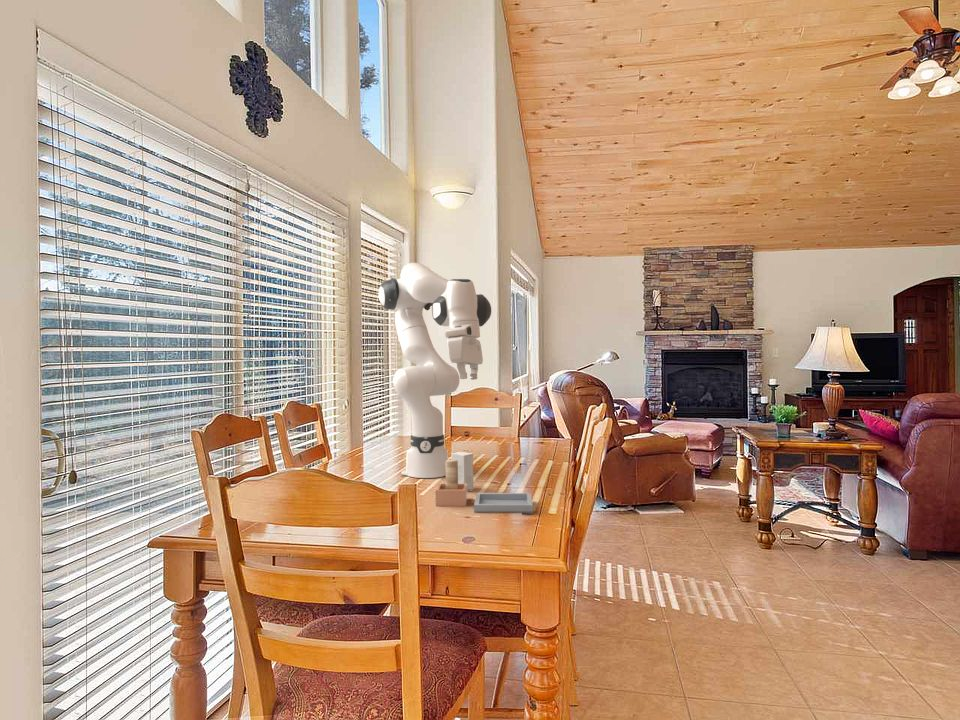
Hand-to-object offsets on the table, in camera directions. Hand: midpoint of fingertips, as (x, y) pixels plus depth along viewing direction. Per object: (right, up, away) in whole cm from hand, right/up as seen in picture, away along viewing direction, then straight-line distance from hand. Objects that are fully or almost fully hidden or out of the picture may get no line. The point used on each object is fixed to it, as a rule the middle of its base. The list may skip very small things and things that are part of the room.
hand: (469, 379), depth 184 cm
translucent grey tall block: (-5, -36, -1) cm, 36 cm away
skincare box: (-2, -36, +15) cm, 39 cm away
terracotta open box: (-5, -36, -1) cm, 37 cm away
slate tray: (+10, -36, -5) cm, 38 cm away
